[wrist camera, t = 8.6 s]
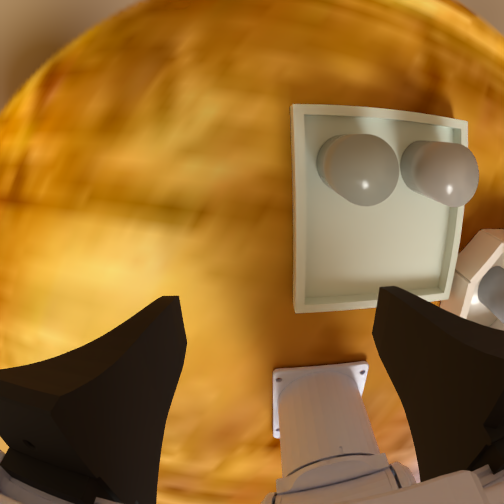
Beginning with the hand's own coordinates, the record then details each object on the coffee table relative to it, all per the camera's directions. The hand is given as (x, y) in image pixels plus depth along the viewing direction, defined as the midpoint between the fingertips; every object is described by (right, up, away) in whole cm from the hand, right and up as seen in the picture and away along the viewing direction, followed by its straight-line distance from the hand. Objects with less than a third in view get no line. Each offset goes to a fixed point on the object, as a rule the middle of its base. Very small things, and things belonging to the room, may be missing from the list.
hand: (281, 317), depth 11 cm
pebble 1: (+5, +8, +7) cm, 11 cm away
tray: (+7, +5, +9) cm, 13 cm away
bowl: (+19, 0, +10) cm, 22 cm away
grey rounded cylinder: (+19, -1, +10) cm, 22 cm away
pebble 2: (+10, +8, +7) cm, 15 cm away
